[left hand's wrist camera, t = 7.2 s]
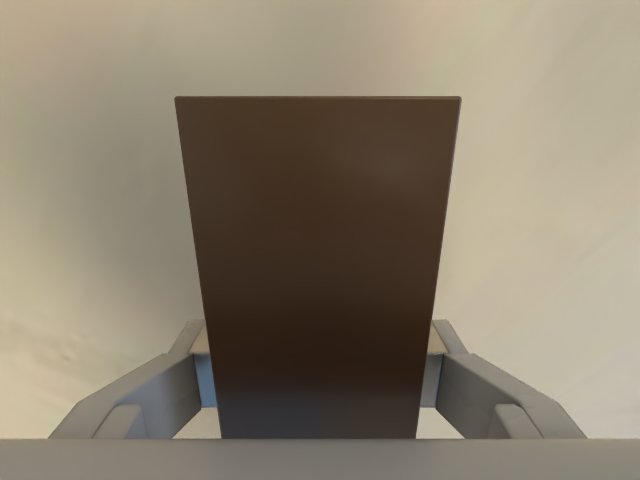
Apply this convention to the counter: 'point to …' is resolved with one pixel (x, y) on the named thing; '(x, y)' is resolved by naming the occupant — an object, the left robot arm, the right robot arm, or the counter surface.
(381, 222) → the beam
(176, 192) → the counter surface
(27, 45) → the counter surface
